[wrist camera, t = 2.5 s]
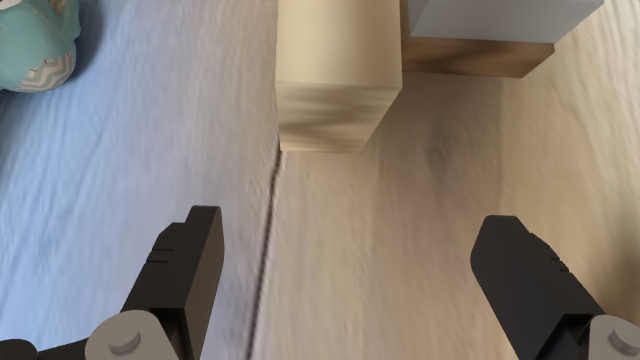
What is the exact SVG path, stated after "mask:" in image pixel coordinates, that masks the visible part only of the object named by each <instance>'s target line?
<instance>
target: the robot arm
mask: <svg viewBox="0 0 640 360" xmlns="http://www.w3.org/2000/svg"><path fill="white" fill-rule="evenodd" d="M470 261H471V268H472V271H473V273H474V275H475V277H476V279H477V281H478V283H479V285H480V287H481V288H482V290H483V292H484V294H485V296H486V298H487V300H488V302H489V304H490V306H491V307H492V309H493V311H494V313H495V315H496V317H497V319H498V321H499V323H500V324H501V326H502V328H503V330H504V332H505V334H506V336H507V338H508V340H509V341H510V343H511V345H512V347H513V349H514V351H515V353H516V355H517V357H518V359H519V360H640V328H639V327H637V326H636V325H634V324H632V323H630V322H628V321H626V320H624V319H622V318H619V317H615V316H611V315H607V314H606V313H605V312H604V311H603V310H602V308H601V307H600V306H599V305H598V304H597V302H596V301H595V300H594V299H593V298H592V296H591V295H590V294H589V293H588V292H587V290H586V289H585V288H584V287H583V286H582V284H581V283H580V282H579V281H578V280H577V278H576V277H575V276H574V275H573V274H572V273H570V272H569V269H568V268H567V266H566V265H565V264H564V263H563V262H562V261H560V258H559V257H558V256H557V254H556V253H555V252H554V251H553V250H552V248H551V247H550V246H549V245H548V244H547V243H545V242H544V241H543V240H541V239H540V238H538V237H537V236H536V235H534V234H533V233H529V231H528V230H527V229H526V228H525V226H524V225H523V224H522V223H521V221H520V220H519V219H518V218H517V217H515V216H503V215H488V216H487V217H486V218H485V219H484V221H483V224H482V226H481V229H480V231H479V234H478V236H477V239H476V242H475V244H474V247H473V249H472V252H471V258H470ZM223 262H224V236H223V226H222V215H221V208H220V206H199V205H193V206H192V208H191V210H190V212H189V214H188V217H187V219H186V221H185V223H176V222H173V223H172V224H170V225H169V226H168V227H167V228H166V229H165V230H164V231H162V232H161V233H160V234H159V236H158V238H157V240H156V242H155V244H154V246H153V248H152V251H151V252H150V254H149V256H148V258H147V260H146V263H145V264H144V266H143V268H142V270H141V272H140V274H139V276H138V278H137V280H136V282H135V284H134V286H133V288H132V290H131V292H130V294H129V296H128V298H127V300H126V302H125V304H124V306H123V308H122V309H121V311H120V313H119V314H116V315H114V316H112V317H110V318H108V319H107V320H106V321H104V322H103V323H101V324H100V325H99V326H98V327H97V328H96V329H95V330H94V331H93V333H92V334H91V335H90V337H88V338H86V339H83V340H80V341H77V342H73V343H70V344H66V345H62V346H58V347H55V348H51V349H47V350H43V351H39V352H37V350H36V348H35V347H34V345H33V344H32V343H30V342H28V341H26V340H22V339H9V340H3V341H0V360H200V356H201V352H202V348H203V344H204V340H205V336H206V332H207V328H208V324H209V320H210V316H211V312H212V308H213V304H214V300H215V296H216V292H217V288H218V284H219V280H220V276H221V272H222V268H223Z"/></svg>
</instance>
